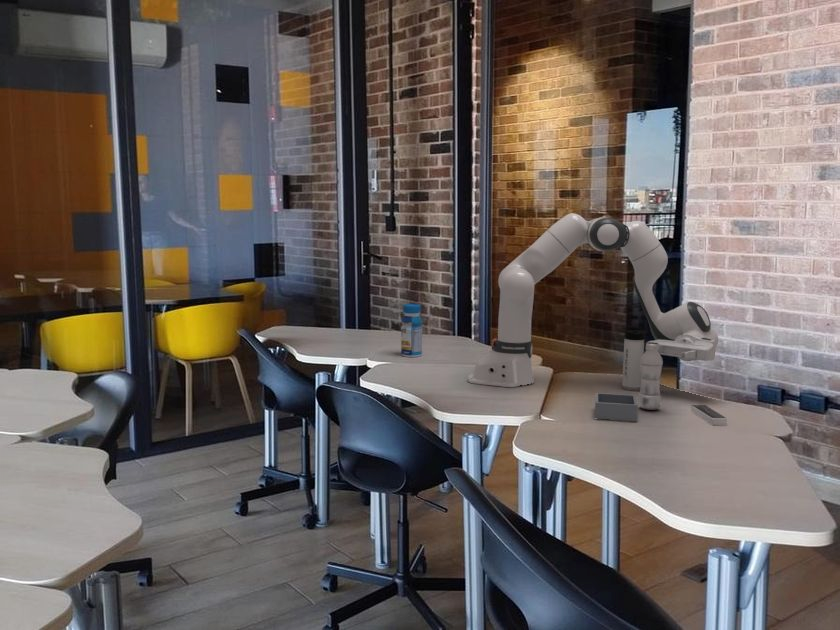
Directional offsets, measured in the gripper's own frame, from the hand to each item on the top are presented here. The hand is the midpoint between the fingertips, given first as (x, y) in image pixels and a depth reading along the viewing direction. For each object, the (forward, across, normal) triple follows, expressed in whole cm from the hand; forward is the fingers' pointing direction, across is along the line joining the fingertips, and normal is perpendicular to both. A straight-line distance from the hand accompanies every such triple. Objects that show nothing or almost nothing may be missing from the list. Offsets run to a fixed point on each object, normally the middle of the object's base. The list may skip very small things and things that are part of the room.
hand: (669, 353), depth 246 cm
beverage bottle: (+5, -103, +14) cm, 104 cm away
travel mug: (-7, -16, +15) cm, 23 cm away
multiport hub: (+9, +17, +16) cm, 25 cm away
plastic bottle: (+13, 0, +15) cm, 20 cm away
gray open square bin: (+25, -4, +15) cm, 30 cm away
